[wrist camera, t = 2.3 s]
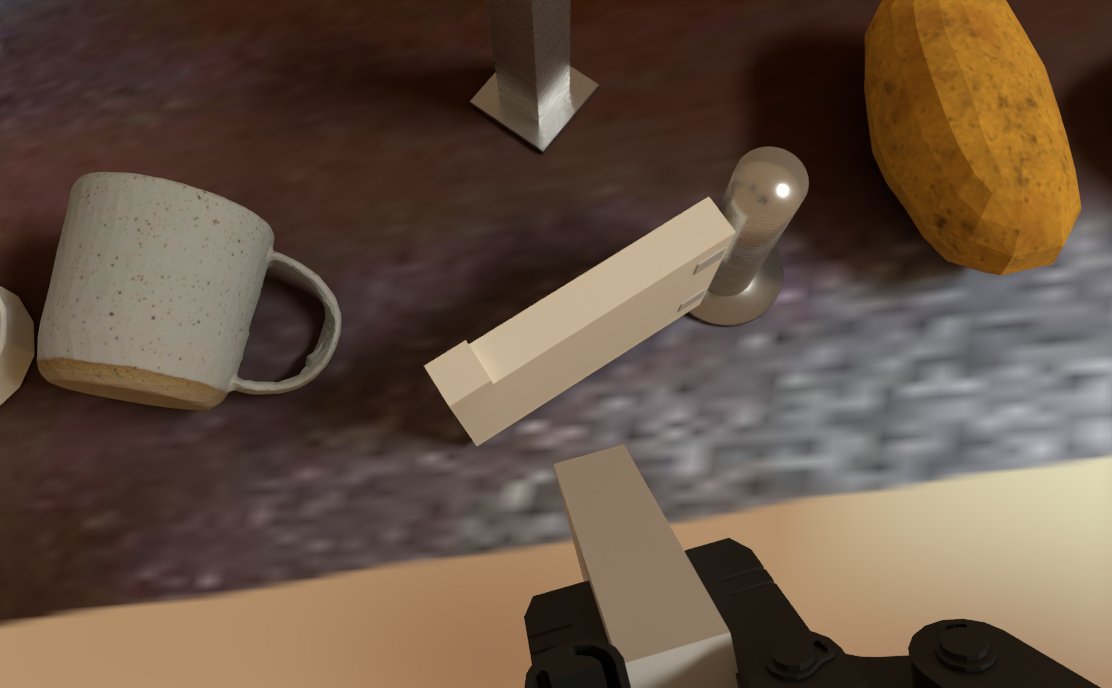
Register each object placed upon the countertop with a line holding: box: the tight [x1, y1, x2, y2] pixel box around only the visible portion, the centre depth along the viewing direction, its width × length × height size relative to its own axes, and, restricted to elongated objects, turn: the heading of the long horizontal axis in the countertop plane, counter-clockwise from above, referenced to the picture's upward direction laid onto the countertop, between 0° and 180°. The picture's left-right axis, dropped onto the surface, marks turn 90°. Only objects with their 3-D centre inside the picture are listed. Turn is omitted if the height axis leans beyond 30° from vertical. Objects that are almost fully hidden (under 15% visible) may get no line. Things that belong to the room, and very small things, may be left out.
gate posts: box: [470, 0, 809, 327], centre depth 33 cm, size 18×5×12 cm, turn 44°
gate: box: [424, 197, 736, 446], centre depth 32 cm, size 12×2×9 cm, turn 123°
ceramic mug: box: [37, 172, 341, 410], centre depth 33 cm, size 11×8×8 cm
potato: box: [864, 0, 1081, 275], centre depth 36 cm, size 8×14×7 cm, turn 7°
